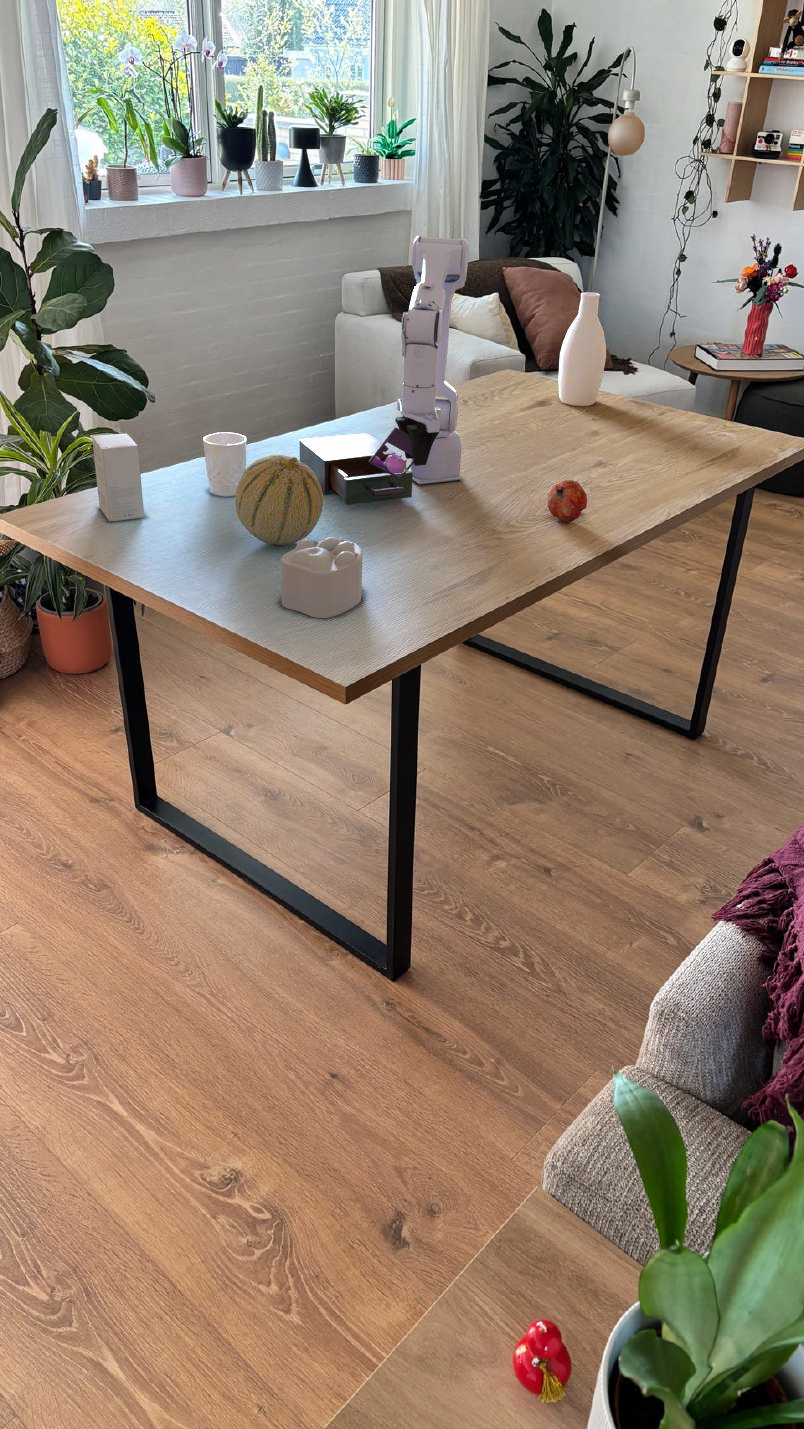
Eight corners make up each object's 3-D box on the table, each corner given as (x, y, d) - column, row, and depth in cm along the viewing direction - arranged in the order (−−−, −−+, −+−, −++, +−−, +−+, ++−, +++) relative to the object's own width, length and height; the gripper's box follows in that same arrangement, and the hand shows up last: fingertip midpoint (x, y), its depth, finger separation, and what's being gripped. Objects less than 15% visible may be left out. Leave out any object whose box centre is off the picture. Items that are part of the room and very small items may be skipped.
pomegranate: (557, 520, 205) (528, 497, 198) (581, 488, 204) (553, 464, 196) (581, 537, 200) (553, 514, 193) (606, 505, 199) (579, 480, 192)
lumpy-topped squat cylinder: (272, 603, 164) (271, 549, 160) (324, 575, 174) (324, 524, 169) (327, 622, 159) (327, 567, 155) (377, 592, 169) (379, 540, 164)
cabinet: (394, 486, 212) (395, 453, 208) (324, 494, 206) (324, 460, 203) (366, 465, 222) (367, 433, 219) (299, 472, 217) (299, 439, 213)
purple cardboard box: (395, 424, 189) (368, 458, 195) (393, 442, 186) (366, 477, 192) (427, 442, 192) (400, 475, 198) (426, 461, 188) (398, 494, 195)
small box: (145, 518, 192) (138, 445, 185) (109, 522, 190) (101, 449, 183) (133, 503, 198) (127, 432, 192) (98, 507, 196) (90, 435, 189)
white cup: (240, 499, 202) (238, 447, 197) (200, 495, 203) (196, 442, 198) (253, 486, 208) (252, 434, 203) (214, 482, 210) (211, 430, 205)
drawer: (422, 505, 200) (424, 480, 198) (355, 514, 195) (356, 488, 193) (384, 476, 214) (385, 452, 211) (321, 483, 208) (320, 459, 206)
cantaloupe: (243, 523, 192) (240, 439, 184) (326, 527, 192) (327, 443, 184) (229, 556, 179) (225, 467, 171) (318, 560, 179) (318, 471, 171)
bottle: (554, 405, 267) (566, 296, 254) (556, 394, 276) (567, 288, 263) (599, 409, 265) (614, 299, 252) (600, 397, 275) (614, 291, 262)
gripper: (458, 393, 181) (453, 472, 188) (424, 372, 192) (420, 447, 199) (419, 396, 179) (415, 476, 186) (387, 374, 190) (385, 450, 197)
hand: (415, 461), depth 192 cm, fingers closed on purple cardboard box, 3 cm apart
